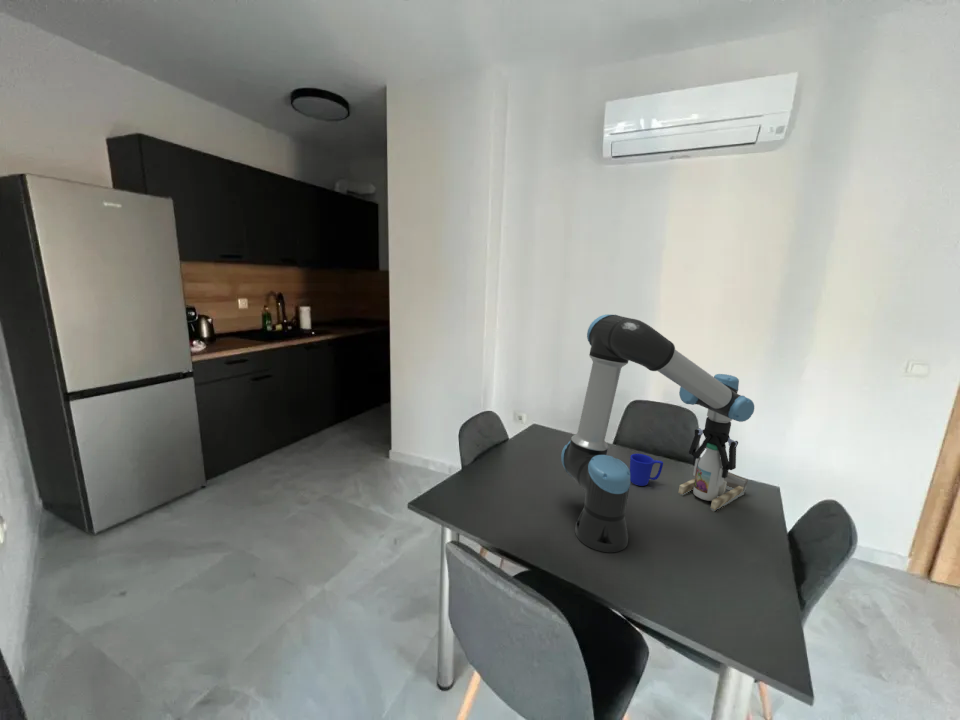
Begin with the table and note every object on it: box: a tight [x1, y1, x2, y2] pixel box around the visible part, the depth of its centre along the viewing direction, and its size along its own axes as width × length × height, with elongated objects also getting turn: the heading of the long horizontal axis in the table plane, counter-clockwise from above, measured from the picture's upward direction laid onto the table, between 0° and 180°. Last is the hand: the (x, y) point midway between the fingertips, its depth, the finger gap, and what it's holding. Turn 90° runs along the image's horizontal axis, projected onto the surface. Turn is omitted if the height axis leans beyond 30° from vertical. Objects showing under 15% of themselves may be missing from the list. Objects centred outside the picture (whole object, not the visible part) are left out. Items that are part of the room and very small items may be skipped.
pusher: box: [718, 481, 727, 496], centre depth 149 cm, size 4×9×7 cm, turn 35°
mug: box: [629, 453, 664, 487], centre depth 155 cm, size 8×12×10 cm
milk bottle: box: [692, 443, 722, 502], centre depth 144 cm, size 8×8×20 cm
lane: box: [677, 471, 749, 510], centre depth 149 cm, size 22×13×6 cm, turn 125°
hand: (707, 479), depth 145 cm, fingers closed on milk bottle, 8 cm apart
